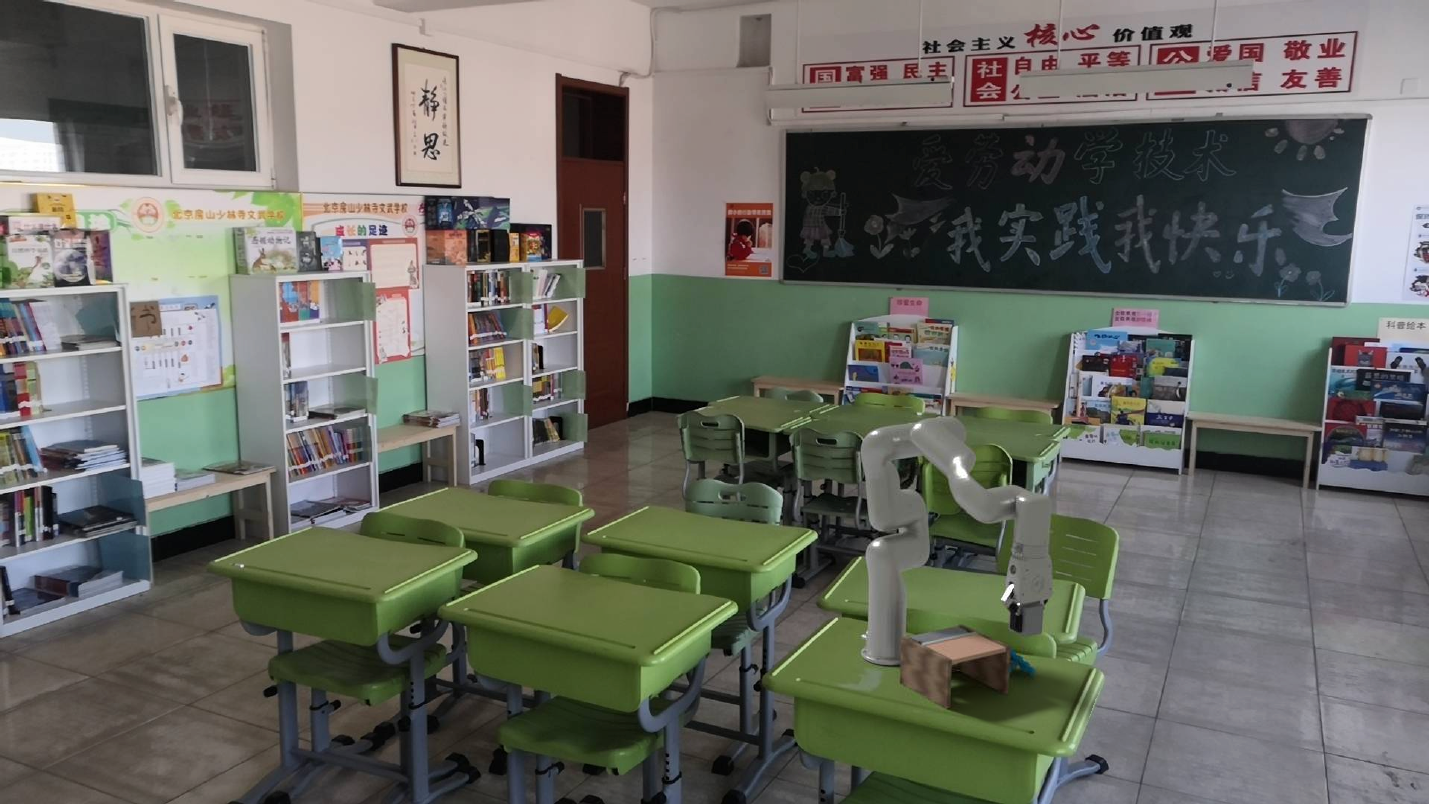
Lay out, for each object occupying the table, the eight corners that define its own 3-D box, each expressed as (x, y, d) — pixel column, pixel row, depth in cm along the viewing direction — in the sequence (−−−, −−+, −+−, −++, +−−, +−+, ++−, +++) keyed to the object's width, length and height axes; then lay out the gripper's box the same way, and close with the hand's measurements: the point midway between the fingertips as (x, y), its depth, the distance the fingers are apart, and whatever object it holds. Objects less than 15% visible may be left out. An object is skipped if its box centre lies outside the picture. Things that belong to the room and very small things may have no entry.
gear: (1044, 674, 255) (1017, 648, 253) (1029, 693, 254) (1002, 667, 252) (1020, 663, 265) (994, 638, 264) (1005, 682, 264) (979, 656, 263)
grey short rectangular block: (1008, 629, 235) (1010, 601, 234) (1025, 625, 237) (1027, 598, 236) (1025, 637, 231) (1026, 608, 230) (1041, 633, 233) (1043, 605, 232)
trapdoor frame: (899, 683, 254) (901, 637, 252) (960, 668, 262) (961, 624, 261) (946, 709, 239) (948, 660, 237) (1008, 693, 248) (1010, 646, 246)
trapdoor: (906, 650, 253) (907, 635, 252) (958, 639, 260) (958, 624, 260) (952, 674, 238) (953, 658, 238) (1005, 661, 246) (1006, 645, 245)
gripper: (1013, 559, 224) (1008, 640, 227) (1071, 549, 232) (1065, 628, 235) (989, 549, 230) (984, 629, 233) (1046, 540, 238) (1040, 617, 241)
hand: (1025, 627), depth 234 cm, fingers closed on grey short rectangular block, 5 cm apart
